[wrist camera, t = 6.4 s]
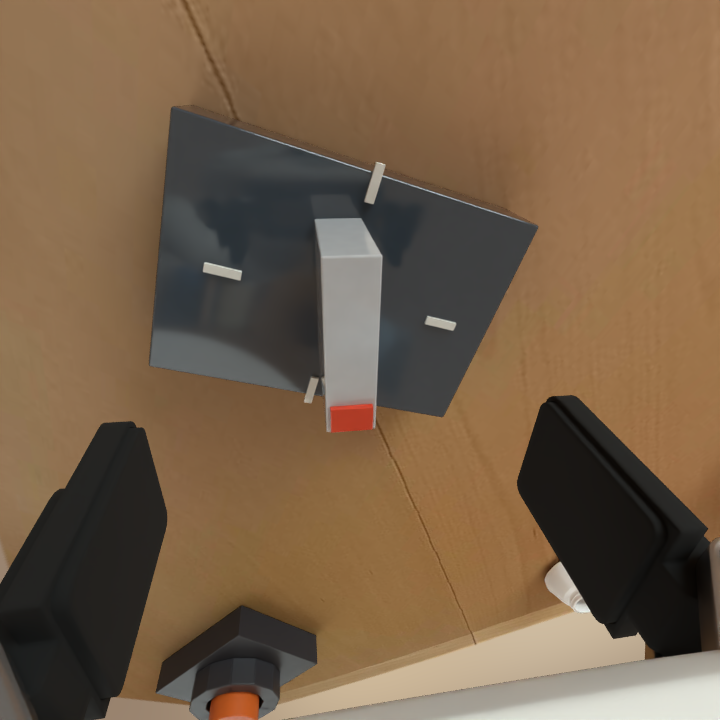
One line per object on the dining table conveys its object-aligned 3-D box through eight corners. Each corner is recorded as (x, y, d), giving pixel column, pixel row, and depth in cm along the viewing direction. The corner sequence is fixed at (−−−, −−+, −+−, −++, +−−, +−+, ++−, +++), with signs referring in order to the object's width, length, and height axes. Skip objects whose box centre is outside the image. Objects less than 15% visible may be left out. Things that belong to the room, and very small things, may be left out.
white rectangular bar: (313, 218, 16) (321, 259, 12) (362, 217, 16) (384, 257, 12) (319, 366, 19) (326, 437, 15) (359, 364, 20) (376, 433, 16)
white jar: (602, 572, 38) (596, 541, 35) (624, 606, 35) (619, 575, 33) (547, 592, 38) (537, 563, 36) (565, 627, 36) (556, 598, 33)
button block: (162, 662, 36) (148, 721, 32) (241, 605, 33) (235, 662, 30) (239, 685, 40) (234, 740, 36) (316, 635, 37) (318, 689, 33)
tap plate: (164, 339, 21) (146, 375, 18) (190, 93, 16) (170, 93, 13) (425, 389, 25) (441, 425, 22) (512, 201, 20) (546, 218, 17)
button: (201, 703, 33) (196, 731, 32) (232, 683, 32) (228, 711, 31) (238, 713, 35) (236, 740, 33) (269, 694, 34) (268, 721, 32)
